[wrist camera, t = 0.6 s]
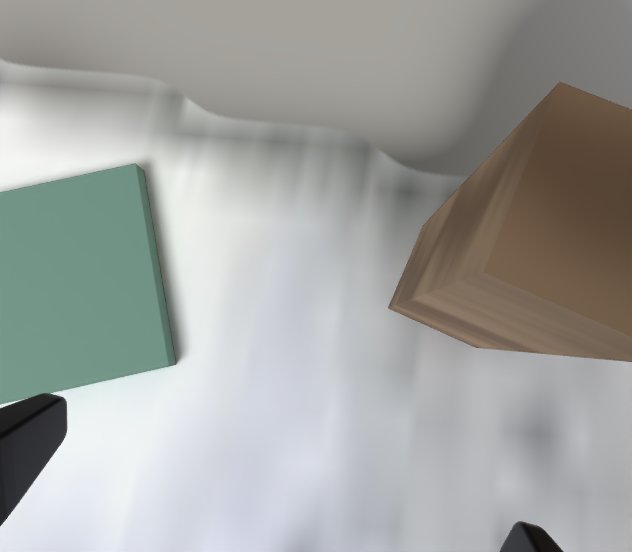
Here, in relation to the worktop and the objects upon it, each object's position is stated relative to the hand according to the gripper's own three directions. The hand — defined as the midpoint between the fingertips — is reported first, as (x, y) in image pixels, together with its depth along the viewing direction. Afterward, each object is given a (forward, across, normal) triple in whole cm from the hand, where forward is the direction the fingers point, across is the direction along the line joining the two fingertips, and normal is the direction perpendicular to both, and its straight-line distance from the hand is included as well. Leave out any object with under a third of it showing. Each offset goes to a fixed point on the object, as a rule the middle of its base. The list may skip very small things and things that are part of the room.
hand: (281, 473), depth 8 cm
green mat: (+12, +14, +5) cm, 19 cm away
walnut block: (+15, -6, 0) cm, 16 cm away
